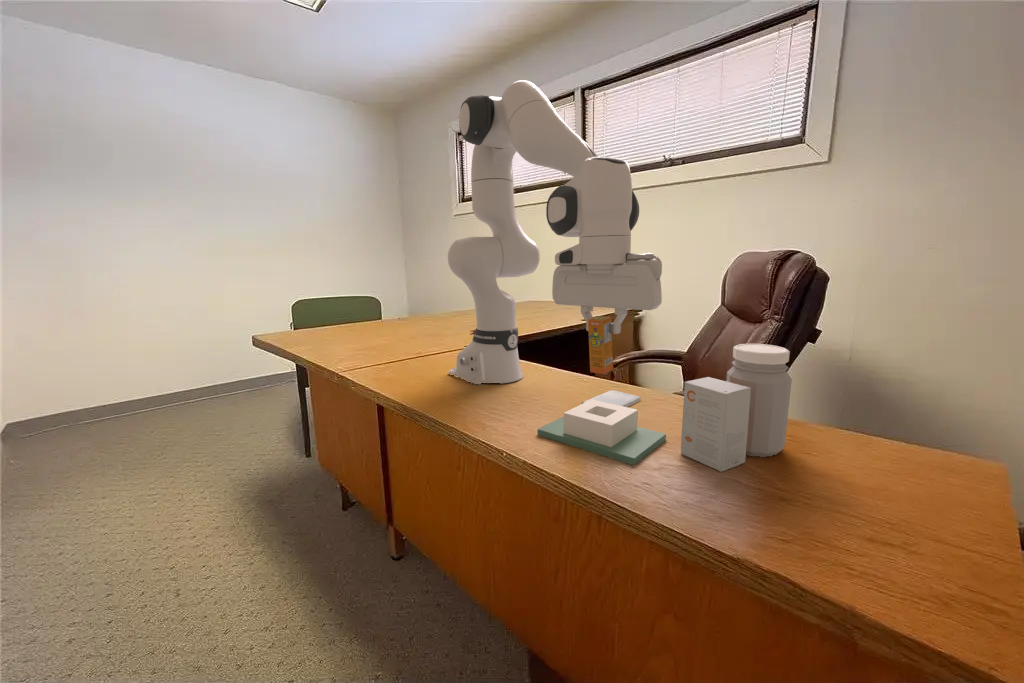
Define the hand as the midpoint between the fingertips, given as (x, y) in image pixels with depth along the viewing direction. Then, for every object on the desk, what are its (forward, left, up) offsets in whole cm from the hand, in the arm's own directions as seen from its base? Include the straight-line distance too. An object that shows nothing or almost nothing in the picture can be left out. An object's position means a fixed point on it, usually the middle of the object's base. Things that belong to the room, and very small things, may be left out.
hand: (603, 332), depth 81 cm
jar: (+23, +13, -21) cm, 33 cm away
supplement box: (0, 0, -7) cm, 7 cm away
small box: (+19, +4, -21) cm, 28 cm away
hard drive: (-8, +19, -21) cm, 29 cm away
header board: (0, 0, -20) cm, 20 cm away
